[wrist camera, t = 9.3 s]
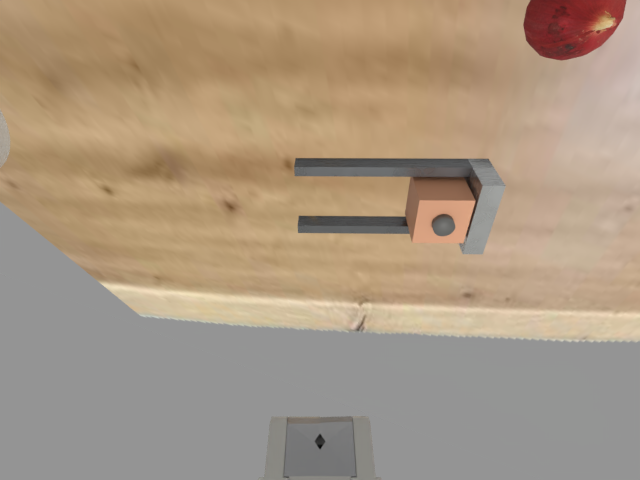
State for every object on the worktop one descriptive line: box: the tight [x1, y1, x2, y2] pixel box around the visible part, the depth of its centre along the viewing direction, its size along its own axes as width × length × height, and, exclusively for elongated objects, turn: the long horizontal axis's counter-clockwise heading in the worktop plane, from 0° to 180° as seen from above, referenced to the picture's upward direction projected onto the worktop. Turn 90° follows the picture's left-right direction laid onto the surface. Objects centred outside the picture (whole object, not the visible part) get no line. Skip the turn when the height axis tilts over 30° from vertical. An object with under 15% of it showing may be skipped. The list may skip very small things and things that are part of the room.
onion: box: [523, 0, 627, 61], centre depth 27 cm, size 6×6×8 cm
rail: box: [294, 158, 506, 254], centre depth 39 cm, size 19×8×5 cm, turn 91°
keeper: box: [405, 177, 476, 243], centre depth 39 cm, size 5×5×6 cm
